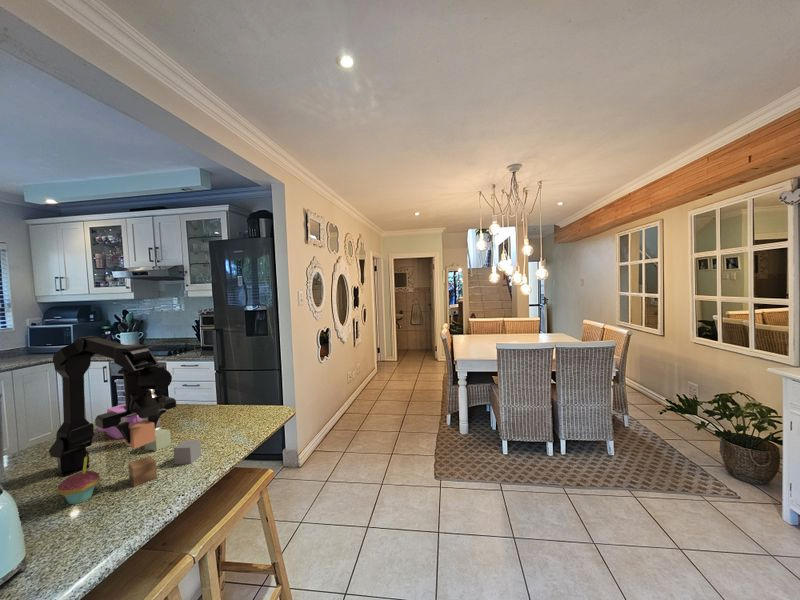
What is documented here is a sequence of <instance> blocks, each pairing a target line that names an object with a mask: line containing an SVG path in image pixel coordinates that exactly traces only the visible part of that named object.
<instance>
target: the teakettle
mask: <svg viewBox="0 0 800 600" xmlns="http://www.w3.org/2000/svg"><path fill="white" fill-rule="evenodd" d="M124 406H126V404H125V401H124V402H123V403H122V404H118V405H116V406H111V407H108V409H107V411H106V413H108V412H112V411H113V412H116V413H121V412H125V411H126V410H125V409H124ZM126 421H127V422H129V425H131V424H134V423H137V422H140V421H143V418H139V416H138V415H134V416H131V417H128V418H126ZM96 430H97V431H100V432H105V433H106V434H107V435H108V436H110V437H111V438H114V439H116V440H119V439H124V437H123V436H122V434H121V432H120V431H119V430H118V429H117V427H114V426H113V427H109V428H106V429H102V428H100V427H98V426H96Z"/></svg>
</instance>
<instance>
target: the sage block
mask: <svg viewBox="0 0 800 600" xmlns="http://www.w3.org/2000/svg"><path fill="white" fill-rule="evenodd" d="M155 439H156V441H153V442H151V443H148V444H145V445H144V450H145V449H148V450H147V451H149V450H155V451H154V452H158V451H157V450H159V449H161V448H163V449H165V448H166V446H167V447H169V446H170V445H172V441H171V440H172V439H171V429H165V428H164V429H157V430H155ZM164 447H165V448H164ZM161 450H162V449H161ZM159 451H160V450H159Z"/></svg>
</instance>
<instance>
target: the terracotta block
mask: <svg viewBox="0 0 800 600" xmlns="http://www.w3.org/2000/svg"><path fill="white" fill-rule="evenodd" d="M129 433H130V444H128V443H127V442H126V440H125V439H124V440H125V445H126V446H128V447H130V448H132V449H137V448H140V447H142V446H145V444H148V443H151V442H153V441H156V439H155V425H154V423H153V422H150V421H148V420H143V421H140V422H137V423H134V424H131V425H129Z"/></svg>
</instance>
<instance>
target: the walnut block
mask: <svg viewBox="0 0 800 600" xmlns="http://www.w3.org/2000/svg"><path fill="white" fill-rule="evenodd" d="M157 473H158V472H157V461H156V459H154V458H153V457H152V455H148V456H146V457H142V458H139V459H136V460H134V461H131V462H128V475H129V482H130V483H131V485H132V484H133V485H132V486H133V488H135V487H136V486H137V487H138V485H139V486H141V484H142V485H145V484H146V482H147V483H149V482H151V480H152V481H155V480H157V479H158V475H157ZM154 479H155V480H154ZM148 481H149V482H148Z"/></svg>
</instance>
